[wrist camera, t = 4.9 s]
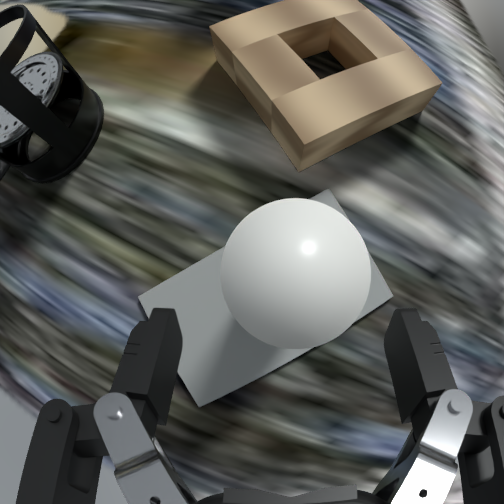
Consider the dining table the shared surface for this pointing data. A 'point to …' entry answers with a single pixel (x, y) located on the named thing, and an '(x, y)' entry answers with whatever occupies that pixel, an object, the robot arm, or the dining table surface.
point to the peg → (295, 273)
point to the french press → (42, 105)
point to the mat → (228, 326)
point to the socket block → (327, 89)
